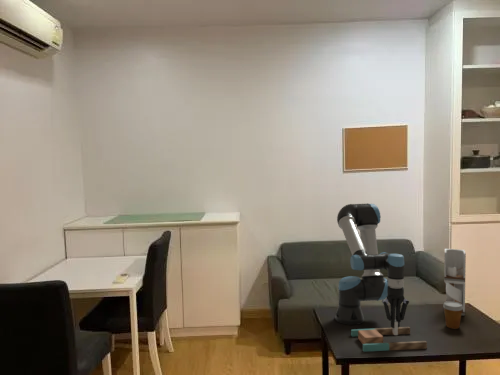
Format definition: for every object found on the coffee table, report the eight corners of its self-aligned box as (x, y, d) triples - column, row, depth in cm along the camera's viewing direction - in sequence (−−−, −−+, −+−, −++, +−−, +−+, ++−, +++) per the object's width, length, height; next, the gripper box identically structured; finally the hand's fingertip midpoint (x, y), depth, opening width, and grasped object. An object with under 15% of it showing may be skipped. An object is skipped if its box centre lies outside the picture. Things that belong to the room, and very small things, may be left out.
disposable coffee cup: (461, 331, 225) (461, 308, 224) (441, 327, 230) (441, 305, 229) (463, 325, 233) (464, 302, 232) (444, 321, 238) (444, 300, 237)
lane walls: (389, 350, 204) (389, 344, 204) (374, 334, 223) (374, 328, 222) (426, 348, 205) (426, 342, 205) (408, 332, 224) (409, 326, 224)
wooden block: (364, 347, 208) (364, 337, 208) (358, 339, 217) (358, 330, 217) (383, 345, 209) (383, 336, 209) (375, 338, 218) (375, 329, 218)
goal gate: (363, 351, 203) (363, 345, 203) (351, 335, 222) (351, 329, 222) (389, 350, 204) (389, 344, 204) (374, 334, 223) (374, 328, 222)
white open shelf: (443, 307, 261) (444, 248, 259) (463, 309, 257) (464, 249, 255) (444, 313, 251) (444, 252, 249) (464, 315, 247) (465, 253, 244)
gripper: (385, 289, 208) (384, 337, 210) (412, 288, 209) (411, 336, 211) (379, 284, 215) (379, 331, 217) (405, 283, 216) (404, 330, 218)
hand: (395, 334), depth 214 cm, fingers closed
